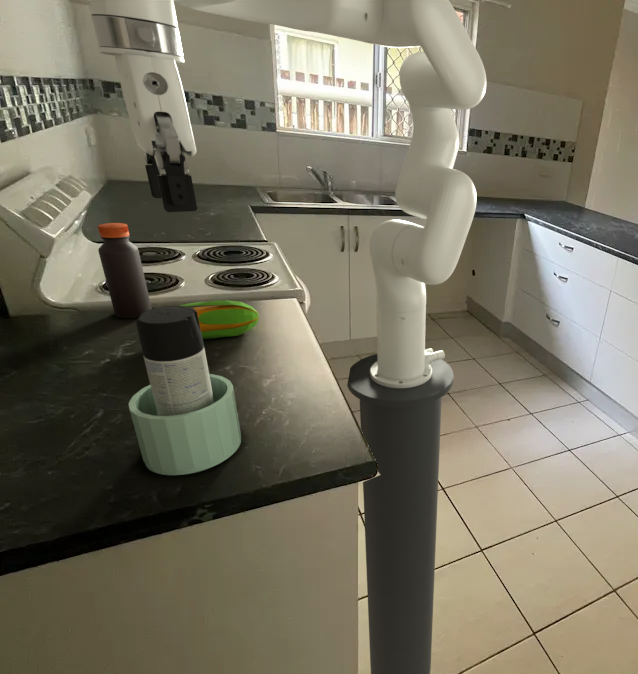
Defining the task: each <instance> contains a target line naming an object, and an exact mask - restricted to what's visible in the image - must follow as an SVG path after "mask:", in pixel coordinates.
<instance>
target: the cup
mask: <svg viewBox="0 0 638 674" xmlns="http://www.w3.org/2000/svg"><path fill="white" fill-rule="evenodd" d="M209 376H210V381H211V387H212V392H213V398H214V403H213V404H212V405H210V406H208V407H205V408H203V409H200V410H198V411H194V412H190V413H186V414H181V415H172V416H158V414H157V410H156V405H155V402H154V397H153V393H152V389H151V385H150V384H149V385H147V386H144V387H142V388H141V389H140V390H138V391H136V393H134V394H133V395H132V396H131V398H130V400H129V402H128V404H127V405H128V409H129V413H130V418H131V420H132V424H133V427H134V432H135V435H136V439H137V442H138V443H137V444H138V447H139V451H140V453H141V457H142V462H143V463H144V466H145V467H146V468H147V469H148V470H149V471H150V472H152V473H154V474H155V473H156V474H158V475H162V476H183V475H185V476H186V475H190V474H195V473H200V472H203V471H206V470H208V469H211V468H214V467H215V466H217V465H220V464H221V463H223V462H224V461H226V460H228V459H229V458H231V457H232V456H233V455H234V454H235V453H236V452H237V451H238V449H239V448H240V446H241V442H242V432H241V426H240V425H241V424H240V419H239V414H238V407H237V402H236V395H235V389H234V385H233V384H232V382H231V380H229V379H228V378H226V377H224V376H222V375H218V374H214V373H209Z"/></svg>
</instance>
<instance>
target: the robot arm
mask: <svg viewBox="0 0 638 674" xmlns="http://www.w3.org/2000/svg"><path fill="white" fill-rule="evenodd" d="M175 3H176V4H178V5H179V6H182V7H185V8H188V9H191V10H195V11H199V12H203V13H209V14H212V15H217V16H222V17H226V18H231V19H237V20H243V21H248V22H255V23H261V24H267V25H272V26H273V25H274V26H279V27H284V28H288V29H293V30H297V31H303V32H311V33H319V34H323V35H329V36H333V37H338V38H343V39H348V40H353V41H358V42H360V43H361V42H362V43H365V44H370V45H376V46H381V47H385V48H393V49H402V48H403V49H404V48H421V49H422V51H417V52H414V53H412V54H409V55H408V56H406V57H405V58H404V60H403V61H402V62H401V65H400V68H399V84H400V88H401V92H402V94H403V96H404V98H405V100H406V102H407V105H408V108H409V110H410V114H411V117H412V118H411V119H412V124H413V125H412V126H413V127H412V134H411V135H412V136H411V138H410V143H409V145H408V146H409V147H408V149H407V151H406V152H407V153H406V156H405V158H404V162H403V165H402V168H401V171H400V174H399V177H398V180H397V182H396V186H395V191H394V198H395V203H396V205H397V206H398V207H399V209H400V210H401V211H402V212H404V213H405V214H408V215H411V216H413V217H416V218H419V219H422V220H423V219H424V220H425V223H424V225H420V224H418V223H414V222H411V221H407V220H402V219H388V220H385V221H383V222H381V223H380V224H378V225H377V226H376V227H375V228H374V230H373V232H372V233H371V236H370V240H369V254H370V255H369V256H370V260H371V264H372V269H373V274H374V281H375V297H376V298H375V302H376V304H375V306H376V307H375V309H376V311H375V312H376V354H377V358H378V361H377V362H376V363H374V364H373V365H372V366H371V368H370V377H371V379H372V380H373V381H374V382H376V383H377V384H379V385H382V386H385V387H389V388H411V387H415V386H419V385H421V384H423V383H425V382H427V381H428V380H429V379H430V378H431V375H432V368H431V366H430V364H431V363H432V362H433V361H435V360H436V361H437V360H440V359H442V360H444V359H445V358H446V354H445V351H444V350H443V349H441V350H437V351H434V349H433V348H426V326H427V325H426V324H427V323H426V321H427V320H426V318H427V317H426V316H427V289H426V285H431V286H437V285H440V284H443V283H444V282H446V281H447V280H448V279H449V278H450V277H451V275H452V274H453V273H454V271H455V269H456V267H457V265H458V262H459V260H460V257H461V254H462V252H463V249H464V246H465V243H466V241H467V237H468V234H469V231H470V229H471V226H472V223H473V220H474V216H475V213H476V208H477V190H476V187H475V184H474V182H473V180H472V178H471V177H470V176H469V175H468V174H466V173H465V172H463V171H461V170H459V169H454V166H455V162H456V159H457V155H458V151H459V146H460V136H459V130H458V127H457V123H456V120H455V117H454V114H453V112H452V110H459V111H463V110H465V111H466V110H470V109H473V108H475V107H476V106H478V105H479V104H480V103H481V102H482V100H483V98H484V96H485V94H486V91H487V84H488V83H487V74H486V73H487V72H486V69H485V65H484V63H483V60H482V58H481V56H480V54H479V52H478V50H477V48H476V46H475V44H474V43H473V41H472V39H471V37H470V35H469V33H468V32H467V30H466V27H465V26H464V24H463V22H462V20H461V18H460V17H459V15H458V13H457V11H456V9H455V8H454V6H453V4H452V3H451V1H450V0H87V4H88V9H89V13H90V17H91V21H92V26H93V30H94V34H95V38H96V43H97V47H98V50H99V53H100V54H103V55H107V56H113V57H114V60H115V65H116V69H117V73H118V78H119V82H120V85H121V90H122V95H123V99H124V103H125V108H126V111H127V115H128V118H129V121H130V124H131V125H130V126H131V128H132V132H133V135H134V139H135V141H136V144H137V147H138V148H139V149H140V150H142V151H143V154H144V159H145V163H146V164H145V165H144V166H145V167H144V168H145V172H146V176H147V180H148V184H149V185H148V186H149V190H150V193H151V196H152V197H153V198H155V199H161V202H162V205H163V210H164V211H165V212H167V213H183V212H184V213H185V212H188V213H189V212H196V211H197V210H198V204H197V198H196V194H195V189H194V183H193V179H192V175H191V174H190V168H189V165H188V162H187V159H186V156H189V157H194V156H195V155H196V154H197V152H198V150H197V145H196V141H195V137H194V133H193V132H194V131H193V128H192V124H191V119H190V114H189V109H188V105H187V101H186V96H185V91H184V87H183V84H182V80H181V77H180V73H179V69H178V66H177V64H178V63H179V64H185V58H184V52H183V46H182V41H181V34H180V29H179V24H178V18H177V13H176V7H175ZM185 155H186V156H185ZM425 284H426V285H425Z"/></svg>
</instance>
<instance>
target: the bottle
mask: <svg viewBox="0 0 638 674" xmlns="http://www.w3.org/2000/svg"><path fill="white" fill-rule="evenodd" d="M97 229H98V232H99V235H100V238H101V240H103V243H102V244H101V245H100V247H98V250H97V251H98V255H99V258H100V263H101V267H102V271H103V274H104V277H105V282H106V286H107V289H108V293H109V298H110V300H111V305H112V308H113V312H114V316H115V317H117V318H120V319H138V318H139V317H140V315H141V314H142V313H145V312H147V311H148V310H150V309H153V308H152V304H151V300H150V295H149V291H148V286H147V282H146V277H145V272H144V267H143V264H142V259H141V255H140V251H139V247H138V246H137V245H135V244H134V243H133V242H131V241H130V240H129V238H131V237H130V231H129V226H128V224H127V223H123V222H107V223H101V224H97Z"/></svg>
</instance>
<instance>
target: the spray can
mask: <svg viewBox="0 0 638 674" xmlns="http://www.w3.org/2000/svg"><path fill="white" fill-rule="evenodd" d="M193 308H194V307H191V306H188V307H185V306H179V305H165V306H159V307H153V308H152V309H150V310H148V311H147V312H145V313H142V314H141V315H140V317H138V318H136V321H135V325H136V328H137V329H136V330H137V333H138V339H139V342H140V343H139V344H140V347H141V350H142V355H143V361H144V365H145V368H146V373H147V377H148V382H149V385H151V389H152V393H153V397H154V402H155V405H156V410H157V414H158V416H172V415H181V414H186V413H190V412H194V411H198V410H200V409H203V408H205V407H208V406H210V405H212V404H213V403H214V398H213V392H212V387H211V381H210V376H209V374H210V369H209V365H208V360H207V355H206V349H205V345H204V344H205V343H204V339H202V334H201V330H200V325H199V319H198V315H197V311H196V310H195V309H193Z"/></svg>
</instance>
